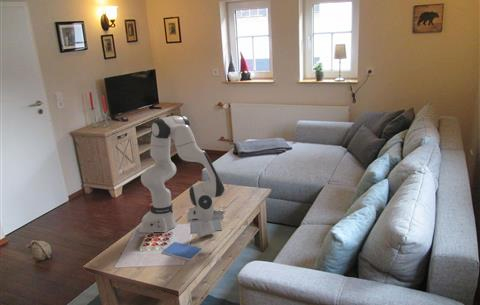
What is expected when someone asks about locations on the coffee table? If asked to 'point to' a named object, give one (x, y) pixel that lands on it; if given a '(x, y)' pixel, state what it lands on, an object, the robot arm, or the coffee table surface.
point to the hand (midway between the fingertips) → (205, 220)
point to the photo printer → (204, 228)
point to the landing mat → (215, 223)
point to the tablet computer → (182, 251)
